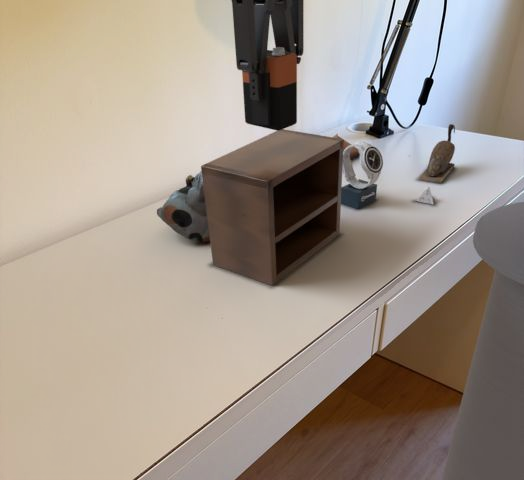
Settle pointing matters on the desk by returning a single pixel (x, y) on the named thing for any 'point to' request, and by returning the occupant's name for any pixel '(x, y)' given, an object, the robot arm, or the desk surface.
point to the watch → (359, 190)
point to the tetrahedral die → (426, 197)
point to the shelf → (273, 203)
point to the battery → (277, 90)
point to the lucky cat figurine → (187, 210)
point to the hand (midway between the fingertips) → (273, 118)
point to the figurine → (440, 160)
